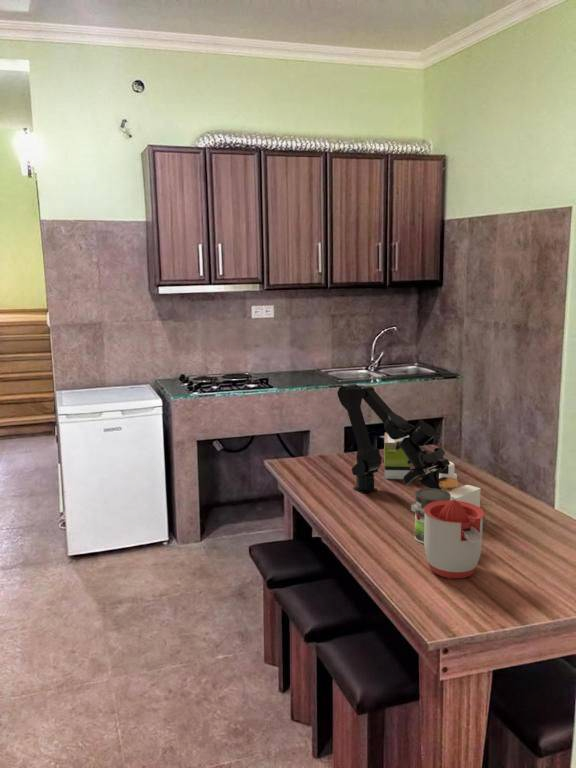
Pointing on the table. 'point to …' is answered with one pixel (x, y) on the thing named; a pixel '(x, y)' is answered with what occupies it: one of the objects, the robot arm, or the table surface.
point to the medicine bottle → (448, 472)
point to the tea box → (395, 459)
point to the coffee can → (421, 501)
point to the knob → (447, 483)
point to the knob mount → (463, 495)
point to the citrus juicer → (453, 537)
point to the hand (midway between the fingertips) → (441, 493)
